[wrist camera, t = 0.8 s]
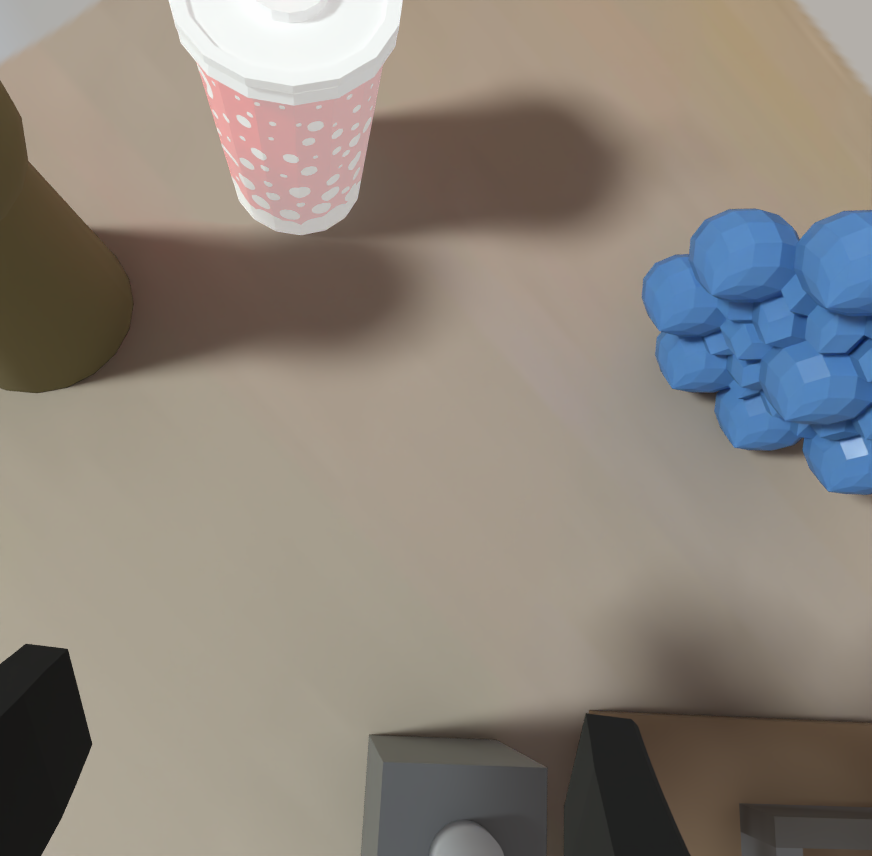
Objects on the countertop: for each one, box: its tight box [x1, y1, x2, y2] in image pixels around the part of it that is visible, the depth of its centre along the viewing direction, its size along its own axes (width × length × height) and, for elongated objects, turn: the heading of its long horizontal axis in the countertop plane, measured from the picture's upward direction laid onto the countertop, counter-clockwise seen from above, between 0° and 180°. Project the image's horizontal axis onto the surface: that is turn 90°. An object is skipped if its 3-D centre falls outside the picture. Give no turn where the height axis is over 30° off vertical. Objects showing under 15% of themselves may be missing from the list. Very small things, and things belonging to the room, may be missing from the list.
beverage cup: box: [169, 0, 403, 235], centre depth 23 cm, size 6×6×14 cm
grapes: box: [642, 209, 872, 495], centre depth 24 cm, size 12×7×12 cm, turn 49°
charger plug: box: [361, 735, 547, 856], centre depth 21 cm, size 4×4×7 cm
